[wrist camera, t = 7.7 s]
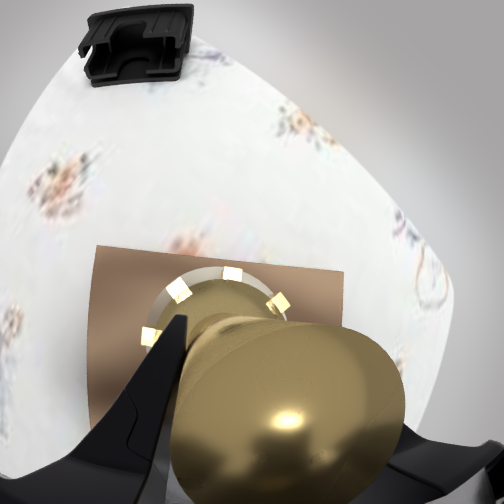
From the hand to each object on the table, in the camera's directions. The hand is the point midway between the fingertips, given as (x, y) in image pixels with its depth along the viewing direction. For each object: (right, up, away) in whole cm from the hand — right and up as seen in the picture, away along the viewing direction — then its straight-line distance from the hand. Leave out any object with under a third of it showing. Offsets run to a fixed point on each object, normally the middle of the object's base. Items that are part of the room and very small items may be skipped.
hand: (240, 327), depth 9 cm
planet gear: (-1, -3, +6) cm, 7 cm away
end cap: (-11, +22, +12) cm, 27 cm away
